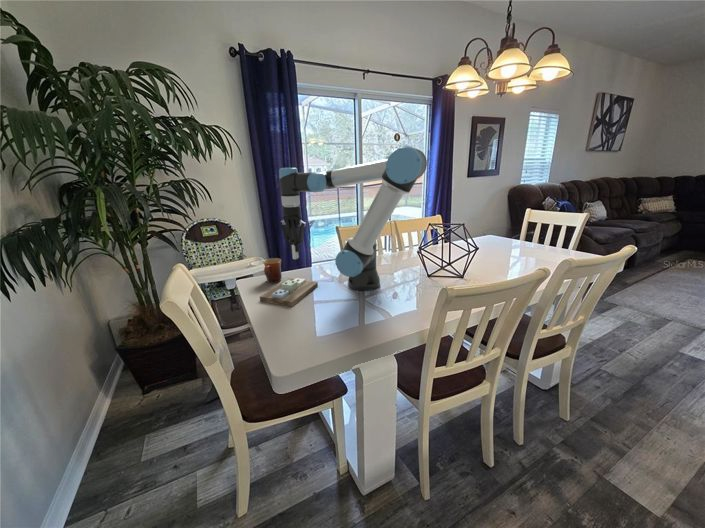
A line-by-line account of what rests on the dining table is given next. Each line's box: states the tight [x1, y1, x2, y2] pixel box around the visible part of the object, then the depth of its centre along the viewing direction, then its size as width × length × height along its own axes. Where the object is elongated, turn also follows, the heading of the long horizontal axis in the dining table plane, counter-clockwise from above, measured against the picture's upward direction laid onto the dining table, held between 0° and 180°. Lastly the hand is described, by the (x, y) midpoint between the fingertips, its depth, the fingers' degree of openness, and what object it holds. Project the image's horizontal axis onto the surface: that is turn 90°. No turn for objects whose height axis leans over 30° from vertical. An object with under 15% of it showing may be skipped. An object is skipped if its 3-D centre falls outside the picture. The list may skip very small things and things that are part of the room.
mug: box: [262, 257, 282, 283], centre depth 140 cm, size 12×9×10 cm
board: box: [259, 278, 319, 307], centre depth 128 cm, size 16×22×2 cm
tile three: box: [272, 289, 289, 299], centre depth 122 cm, size 5×5×4 cm
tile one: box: [293, 277, 307, 286], centre depth 134 cm, size 5×5×4 cm
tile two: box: [282, 279, 298, 292], centre depth 128 cm, size 5×5×4 cm
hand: (295, 258), depth 130 cm, fingers closed
